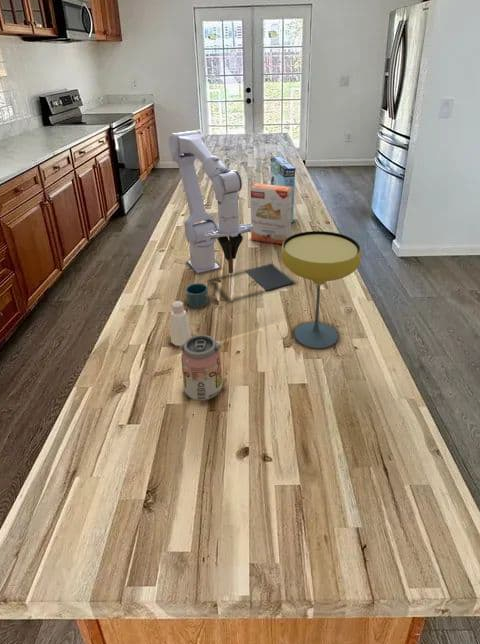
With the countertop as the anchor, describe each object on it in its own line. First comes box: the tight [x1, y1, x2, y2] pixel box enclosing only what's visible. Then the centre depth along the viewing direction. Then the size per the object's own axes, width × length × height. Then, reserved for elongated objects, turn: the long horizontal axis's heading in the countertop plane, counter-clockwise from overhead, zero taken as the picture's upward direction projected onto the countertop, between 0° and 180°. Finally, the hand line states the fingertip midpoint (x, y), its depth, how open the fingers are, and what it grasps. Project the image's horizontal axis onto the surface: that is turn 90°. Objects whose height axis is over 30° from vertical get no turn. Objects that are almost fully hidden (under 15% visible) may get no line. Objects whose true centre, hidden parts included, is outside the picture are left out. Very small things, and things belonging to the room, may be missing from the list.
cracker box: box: [250, 182, 292, 245], centre depth 159 cm, size 14×6×21 cm, turn 68°
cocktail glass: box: [281, 230, 362, 349], centre depth 105 cm, size 18×18×25 cm
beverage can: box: [179, 334, 223, 402], centre depth 92 cm, size 9×8×12 cm
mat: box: [244, 264, 294, 292], centre depth 135 cm, size 14×22×1 cm, turn 116°
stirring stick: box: [227, 244, 234, 274], centre depth 128 cm, size 1×1×9 cm
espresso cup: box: [185, 283, 209, 308], centre depth 125 cm, size 6×6×4 cm
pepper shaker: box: [170, 300, 192, 347], centre depth 107 cm, size 5×5×11 cm
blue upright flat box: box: [269, 156, 296, 223], centre depth 183 cm, size 20×5×23 cm, turn 13°
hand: (230, 258), depth 128 cm, fingers closed on stirring stick, 1 cm apart
